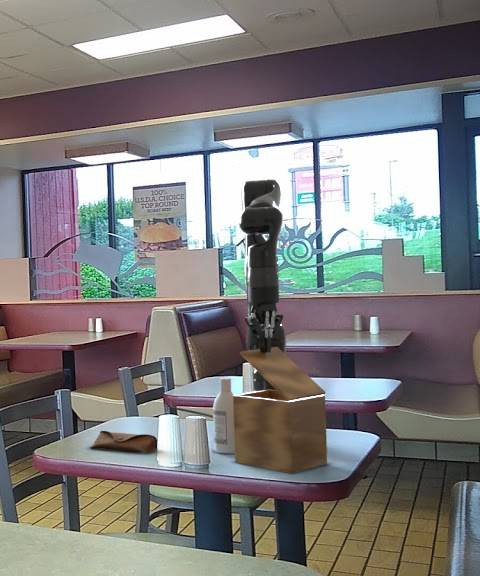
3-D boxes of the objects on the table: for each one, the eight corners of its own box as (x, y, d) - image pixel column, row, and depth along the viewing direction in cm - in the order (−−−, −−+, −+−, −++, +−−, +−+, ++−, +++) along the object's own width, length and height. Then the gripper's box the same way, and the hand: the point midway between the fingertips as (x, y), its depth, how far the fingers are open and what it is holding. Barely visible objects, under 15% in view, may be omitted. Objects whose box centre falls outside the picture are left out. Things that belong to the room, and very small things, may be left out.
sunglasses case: (87, 447, 234) (92, 425, 237) (96, 455, 239) (101, 433, 242) (147, 452, 224) (151, 429, 227) (155, 461, 229) (159, 438, 232)
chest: (235, 462, 212) (233, 395, 211) (271, 453, 220) (269, 389, 220) (291, 473, 198) (288, 401, 198) (327, 464, 206) (325, 395, 206)
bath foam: (236, 448, 228) (234, 376, 228) (244, 453, 221) (241, 379, 221) (211, 449, 228) (209, 377, 228) (218, 454, 221) (215, 380, 221)
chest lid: (239, 353, 209) (241, 351, 209) (275, 349, 217) (277, 346, 217) (288, 401, 198) (289, 398, 197) (324, 394, 206) (325, 392, 206)
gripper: (267, 284, 218) (269, 349, 218) (234, 286, 211) (236, 353, 211) (291, 283, 212) (294, 350, 212) (259, 285, 204) (261, 355, 205)
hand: (265, 352), depth 211 cm, fingers closed
